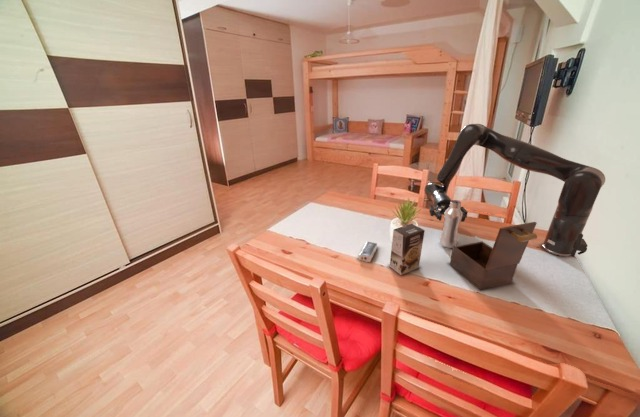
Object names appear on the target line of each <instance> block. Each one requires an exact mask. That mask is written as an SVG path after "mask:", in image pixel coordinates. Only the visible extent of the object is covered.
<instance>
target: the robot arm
mask: <svg viewBox="0 0 640 417" xmlns="http://www.w3.org/2000/svg"><path fill="white" fill-rule="evenodd" d="M473 146H478V147H482V148H484V149H487V150H489V151H492V152H494V153H495V154H496V155H498V156H499V157H500V158H501V159H503V160H504V161H506V162H508V163H509V164H511V165H513V166H515V167H518V168H520V169H523V170H525V171H530V172H534V173H539V174H543V175H546V176H547V175H548V176H551V177H553V178H556V179H557V180H560V181H562V182H564V183H563V186H562V188H561V191H560V195H559V197H558V200H557V206H556V209H555V210H554V213H553V217H552V219H551V221H550V225H549V228H548V230H547V233H546V234H545V238H544V241H543V243H542V245H541V246H542V249H543V250H544V251H546V252H548V253H549V254H552V255H555V256H559V257H564V258H565V257H567V258H568V257H572V258H574V257H575V256H576V253H577V255H579V256H580V255H582V254H584V253H586V252H587V251H588V243H587V242H586V240H585V238H584V234H583V231H584V230H585V227H586V225H587V223H588V220H589V217H590V216H591V214H592V211H593V209H594V205H595V203H596V200H597V198H598V195H599V193H600V191H601V189H602V188H603V186H604V185H605V182H606V175H605V174H604V172H603V171H601V170H600V169H598V168H596V167H594V166H589V165H586V164H583V163H579V162H576V161H573V160H570V159H567V158H565V157H564V158H563V157H561V156H559V155H557V154H555V153H553V152H550V151H549V150H545V149H543V148H541V147H539V146H536V145H533V144H531V143H529V142H526V141H524V140H521V139H518V138H514V137H512V136H507V135H504V134H502V133H500V132H498V131H496V130H494V129H492V128H489V127H488V126H487V125H484V124H481V123H470V124H469V123H468V124H467V125H465V126H464V127H463V128H461V130H460V132H459V134H458V136H457V139H456V141H455V144H454V146H453V147H452V150H451V152H450V153H449V155H448V157H447V159H446V160H445V162H444V164H443V165H442V167H441V169H440V170H439V171H438V173H437V175H436V180H437V181H438V182H439V183H441V184H438V183H436V182H428V183H426V185H425V187H424V194H425V196H426V197H427V198H428V199H430V200H431V201H432V204H433V205H432V204H431V205H429V210H428V212H429V216H430V217H436V219H437V220H438V221H442V217H443V216H444V212H445V211H446V210H447V209H448V208H449V207H450V202H451V201H452V199H451V197H450V196H449V195H448V190H449V186H450V184H451V182H452V181H453V179H454V178H455V176H456V174H458V171H459V170H460V167H461V165H462V162H463V160H464V158H465V156H466V155H467V153H468V152H469V151H470V150H471V149H472V148H473ZM460 210H461V211H462V215H463V216H462V219H461V222H463V223H465V221H466V219H467V217H468V211H467V209H465V207H464V206H461V207H460ZM461 222H460V223H461ZM577 251H578V252H577Z"/></svg>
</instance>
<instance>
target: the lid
mask: <svg viewBox="0 0 640 417" xmlns="http://www.w3.org/2000/svg"><path fill="white" fill-rule="evenodd" d="M536 226H537V222H536V221H532V222H526V223H521V224H515V225H509V226H504V227H500V228H499V229H498V232H497V235H496V238H495V240H494V243H493V246H492V248H493V249H492V251H491V254H490V257H489V260H488V262H487V265H486V268H485V270H491V269H496V268H501V267H505V266H510V265H514V264H520V262H521V260H522V258H523V256H524V253H525V251H526V249H527V246H528V245H529V242H530V241H535V240H537V239H538V235H537V234H536V233H535V232H534V230H535V228H536Z"/></svg>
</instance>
